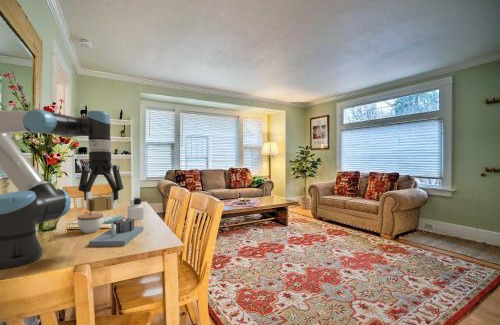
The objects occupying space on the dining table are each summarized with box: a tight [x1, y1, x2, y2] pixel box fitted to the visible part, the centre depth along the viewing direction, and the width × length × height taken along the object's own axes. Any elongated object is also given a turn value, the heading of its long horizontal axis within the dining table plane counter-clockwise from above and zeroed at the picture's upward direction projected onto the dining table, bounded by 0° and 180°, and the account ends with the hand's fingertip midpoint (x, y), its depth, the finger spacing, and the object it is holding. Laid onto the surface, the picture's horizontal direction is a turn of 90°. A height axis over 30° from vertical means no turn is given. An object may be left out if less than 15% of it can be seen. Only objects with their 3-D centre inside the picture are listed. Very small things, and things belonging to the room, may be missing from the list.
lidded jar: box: [76, 211, 104, 234], centre depth 125 cm, size 11×11×9 cm
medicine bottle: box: [126, 197, 145, 221], centre depth 151 cm, size 7×7×12 cm
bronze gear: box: [87, 195, 112, 213], centre depth 101 cm, size 9×9×4 cm
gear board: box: [88, 218, 144, 247], centre depth 115 cm, size 14×22×7 cm, turn 4°
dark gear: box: [112, 217, 135, 233], centre depth 120 cm, size 9×9×4 cm
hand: (101, 208), depth 101 cm, fingers closed on bronze gear, 9 cm apart
